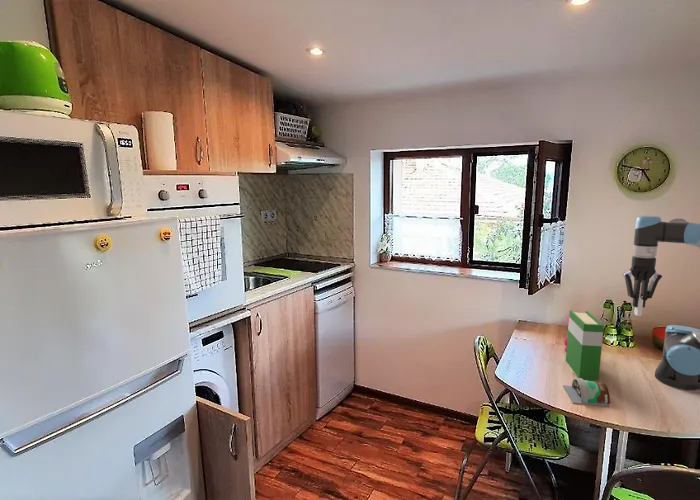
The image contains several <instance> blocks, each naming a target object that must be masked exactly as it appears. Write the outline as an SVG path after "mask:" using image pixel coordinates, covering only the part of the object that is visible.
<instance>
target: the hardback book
mask: <svg viewBox="0 0 700 500" xmlns="http://www.w3.org/2000/svg"><path fill="white" fill-rule="evenodd" d="M574 312H575V311H573V310H569V312H568V313H569V314H568V315H569V316H568V317H569V323H568V328H567V329H568V330H567V336H568V337H567V336H566V337H567V349H566V352H565V362H566V363H567V364H568V366H569V367H570V368H571V370H572V371H573V373H574V374H575V375H576V377H577V378H582V379H583V380H587V381H591V380H592V381H599V379H600V377H599V376H600V369H601V367H600V366H601V360H602V357H601V356H602V350H603V349H602V347H603V339H604V329H605V327H604V326H605V325H604V324H603V323H602V322H601V321H600V320H599V319H597V318H596V317H595V316H594V315H593V314H591V313H590V312H589V311H588V310H585V311H584V312H577V313H574Z"/></svg>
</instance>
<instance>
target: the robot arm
mask: <svg viewBox="0 0 700 500" xmlns="http://www.w3.org/2000/svg"><path fill="white" fill-rule="evenodd" d="M633 236H634V239H633V240H634V241H633V249H632V257H631V268H629V271H627V272H623V273H622V276H623V277H624V279H625V285H626V291H627V292H626V293H627V296H629V297H630V298H631V299H632V307H634V311H633V314H634V315H635V316H637V317H642V313H643V308H646V302H647V301H648V299H652V298H653V296H654V293H655V291H656V288H657V286H658V283H659V281H660V280H661V279H662V278H663V275H662V274H659V273H657V270H656V269H655V268H656V264H657V258H656V257H657V254H658V246H659V243H673V244H675V243H676V244H685V245H689V246H692V247H694V248H697V249H699V250H700V223H696V222H689V221H687V220H686V219H683V218H673V219H670V220H669V221H668V222H667V221H662V219H661V216H657V215H640V216H638V217H636V220H635V227H634V235H633ZM632 277H633V281H634V282H632ZM650 279H651V280H650ZM633 283H634V284H633ZM664 333H665V334H664V340H663V350H662V358H661V360H660V362H659V363H658V365H657V367H656V368H655V371H654V378H655V379H656V380H657V381H659V382H660V383H662V384H665V385H667V386H670V387H673V388H677V389H681V390H689V391H690V390H691V391H692V390H699V389H700V328H699V329H698V328H695V327H690V326H687V325H686V326H685V325H680V324H679V325H678V324H669V325H666V328H665V331H664Z"/></svg>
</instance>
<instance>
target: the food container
mask: <svg viewBox="0 0 700 500" xmlns="http://www.w3.org/2000/svg"><path fill="white" fill-rule="evenodd" d="M571 386H572V387H575V389H576V391H577V394H578V395H579V396H580V397H581V402H583V403H588V402H593V403H607V404H610V402H611V396H610V391H609V388H608V386H607V384H606V383H605V382H604V383H603V382H600V381H599V382H598V381H593V380H592V381H591V380H587V379H582V378H578V377H577V378H574V379H573V380H572V382H571Z"/></svg>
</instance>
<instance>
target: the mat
mask: <svg viewBox="0 0 700 500" xmlns="http://www.w3.org/2000/svg"><path fill="white" fill-rule="evenodd" d="M562 387H563V389H564V391H565V393H566V394H567V395H568V397H569V399H570V400H571V403H572V404H576V405H586V406H597V407H598V406H600V407H609V406H610V405H609V403H593V402H588V403H583V402H581V397H580V396H579V395H578V394H577V391H576V389H575V387H572V385H565V384H564V385H562Z"/></svg>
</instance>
